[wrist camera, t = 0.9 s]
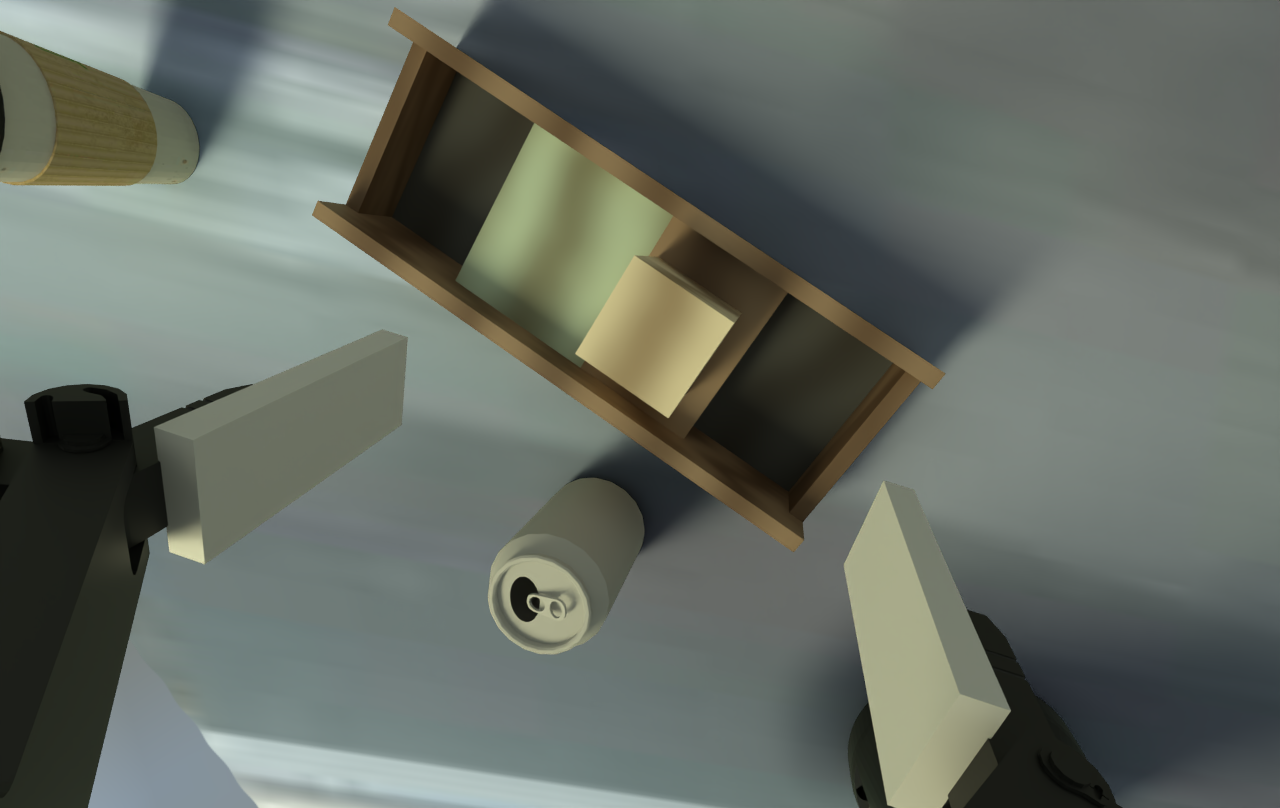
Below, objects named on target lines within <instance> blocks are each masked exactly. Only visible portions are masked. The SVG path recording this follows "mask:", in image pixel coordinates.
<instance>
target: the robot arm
mask: <svg viewBox="0 0 1280 808" xmlns="http://www.w3.org/2000/svg"><path fill="white" fill-rule="evenodd" d="M407 340H408V337H405V336H402V335H398V334H395V333H392V332H389V331H385V330H380V331H378V332H375V333H373V334H371V335H368V336H366V337H364V338H361V339H359V340H357V341H354V342H352V343H350V344H347V345H345V346H343V347H340V348H338V349H336V350H333V351H331V352H329V353H326V354H324V355H321V356H319V357H317V358H314V359H312V360H310V361H307V362H305V363H303V364H300V365H298V366H296V367H293V368H291V369H289V370H286V371H284V372H282V373H279V374H277V375H275V376H272V377H270V378H268V379H265V380H263V381H261V382H258V383H256V384H254V385H253V384H251V385H245V386H240V387H235V388H230V389H225V390H223V391H220V392H218V393H215V394H213V395H211V396H208V397H206V398H204V400H203V401H201V400H198V401H196V402H194V403H191V404H189V405H186V408H179V409H177V410H174V411H172V412H170V413H167V414H165V415H162V416H160V417H157V418H155V419H153V420H150V421H148V422H145V423H143V424H141V425H138V426H136V427H133V428H132V427H131V420H130V413H129V406H128V399H127V394H126V393H124V392H123V391H121V390H120V389H118V388H114V387H110V386H106V385H93V384H81V385H67V386H61V387H56V388H51V389H47V390H44V391H42V392H39V393H36V394H34V395H32V396H31V397H29V398H28V399H27V400H26V401H24V404H25V408H26V413H27V417H28V422H29V426H30V431H31V435H32V440H33V442H31V441H22V440H12V439H3V438H1V437H0V808H88V804H89V800H90V796H91V792H92V788H93V784H94V779H95V775H96V771H97V767H98V763H99V759H100V755H101V750H102V747H103V743H104V739H105V734H106V730H107V726H108V722H109V718H110V714H111V710H112V705H113V701H114V697H115V693H116V689H117V685H118V681H119V677H120V673H121V669H122V664H123V660H124V656H125V652H126V648H127V644H128V640H129V636H130V632H131V628H132V624H133V620H134V615H135V611H136V607H137V603H138V599H139V595H140V591H141V587H142V583H143V578H144V574H145V570H146V566H147V562H148V558H149V554H150V552H149V545H148V538H149V537H150V536H152V535H154V534H155V533H157V532H159V531H160V530H162V529H164V528H165V527H167V535H168V543H169V551H170V552H172V553H174V554H177V555H180V556H183V557H186V558H189V559H191V560H194V561H197V562H200V563H203V564H206V563H207V562H209V561H210V560H212V559H213V558H214V557H216V556H217V555H219V554H220V553H221V552H223V551H224V550H226V549H227V548H228V547H230V546H231V545H233V544H234V543H236V542H237V541H238V540H240V539H241V538H243V537H244V536H245V535H247V534H248V533H250V532H251V531H252V530H254V529H255V528H257V527H258V526H260V525H261V524H262V523H264V522H265V521H267V520H268V519H269V518H271V517H272V516H274V515H275V514H276V513H278V512H279V511H281V510H282V509H284V508H285V507H286V506H288V505H289V504H291V503H292V502H293V501H295V500H296V499H298V498H299V497H300V496H302V495H303V494H305V493H306V492H308V491H309V490H310V489H312V488H313V487H315V486H316V485H317V484H319V483H320V482H322V481H323V480H324V479H326V478H327V477H329V476H330V475H332V474H333V473H334V472H336V471H337V470H339V469H340V468H341V467H343V466H344V465H346V464H347V463H349V462H350V461H351V460H353V459H354V458H356V457H357V456H358V455H360V454H361V453H363V452H364V451H365V450H367V449H368V448H370V447H371V446H373V445H374V444H375V443H377V442H378V441H380V440H381V439H382V438H384V437H385V436H387V435H388V434H389V433H391V432H392V431H394V430H395V429H397V428H398V427H399V426H401V425H402V411H403V397H404V382H405V368H406V354H407ZM844 569H845V575H846V580H847V586H848V591H849V597H850V602H851V608H852V613H853V619H854V624H855V630H856V635H857V641H858V646H859V652H860V657H861V663H862V668H863V674H864V679H865V685H866V690H867V695H868V701H869V703H868V704H867V705H866V706H865V707H864V709H863V710H862V711H861V713H860V714H859V716H858V717H857V719H856V721H855V723H854V726H853V728H852V731H851V734H850V738H849V744H848V761H849V768H850V775H851V782H852V788H853V792H854V795H855V798H856V801H857V804H858V806H859V808H1122V807H1121V806H1119V805H1117V804H1116V803H1115V799H1114V796H1113V794H1112V792H1111V789H1110V787H1109V785H1108V784H1107V782H1106V781H1105V780H1104V778H1103V777H1102V776H1101V775H1100V773H1099V772H1098V771H1097V769H1096V768H1095V767H1094V766H1093V765H1092V764H1090V763H1089V762H1088V761H1087V759H1086V757H1085V755H1084V753H1083V752H1082V750H1081V748H1080V747H1079V745H1078V744H1077V742H1076V740H1075V739H1074V737H1073V735H1072V734H1071V732H1070V730H1069V729H1068V727H1067V726H1066V724H1065V723H1064V722H1063V720H1062V719H1061V718H1060V717H1059V716H1058V714H1057V713H1056V712H1055V711H1054V710H1053V709H1052V708H1051V707H1049V706H1048V705H1047V704H1046V703H1045V702H1043V701H1042V700H1041V699H1039V698H1038V697H1037V696H1035V695H1034V693H1033V691H1032V689H1031V687H1030V685H1029V683H1028V681H1026V680H1024V679H1025V675H1024V673H1023V671H1022V669H1021V667H1020V665H1019V663H1016V657H1015V655H1014V653H1013V651H1012V649H1011V647H1010V645H1009V643H1008V641H1007V639H1006V637H1005V636H1004V635H1003V634H1002V633H1001V632H1000V631H999V629H998V628H997V627H996V626H995V625H994V624H993V623H992V622H991V620H990V619H989V618H988V617H987V616H985V615H982V614H979V613H976V612H972V611H969V610H966V607H965V605H964V603H963V600H962V598H961V596H960V594H959V591H958V589H957V587H956V585H955V582H954V580H953V578H952V575H951V573H950V571H949V569H948V566H947V564H946V562H945V559H944V557H943V555H942V553H941V550H940V548H939V546H938V544H937V541H936V539H935V537H934V534H933V532H932V530H931V528H930V525H929V523H928V521H927V518H926V516H925V514H924V512H923V509H922V507H921V505H920V503H919V500H918V498H917V496H916V493H915V491H914V490H913V489H910V488H907V487H903V486H900V485H897V484H893V483H890V482H887V481H883V483H882V485H881V487H880V489H879V492H878V494H877V496H876V498H875V500H874V502H873V504H872V506H871V508H870V511H869V513H868V515H867V517H866V519H865V521H864V523H863V525H862V527H861V530H860V532H859V534H858V536H857V538H856V540H855V542H854V544H853V546H852V549H851V551H850V553H849V555H848V557H847V559H846V561H845V563H844Z"/></svg>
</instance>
